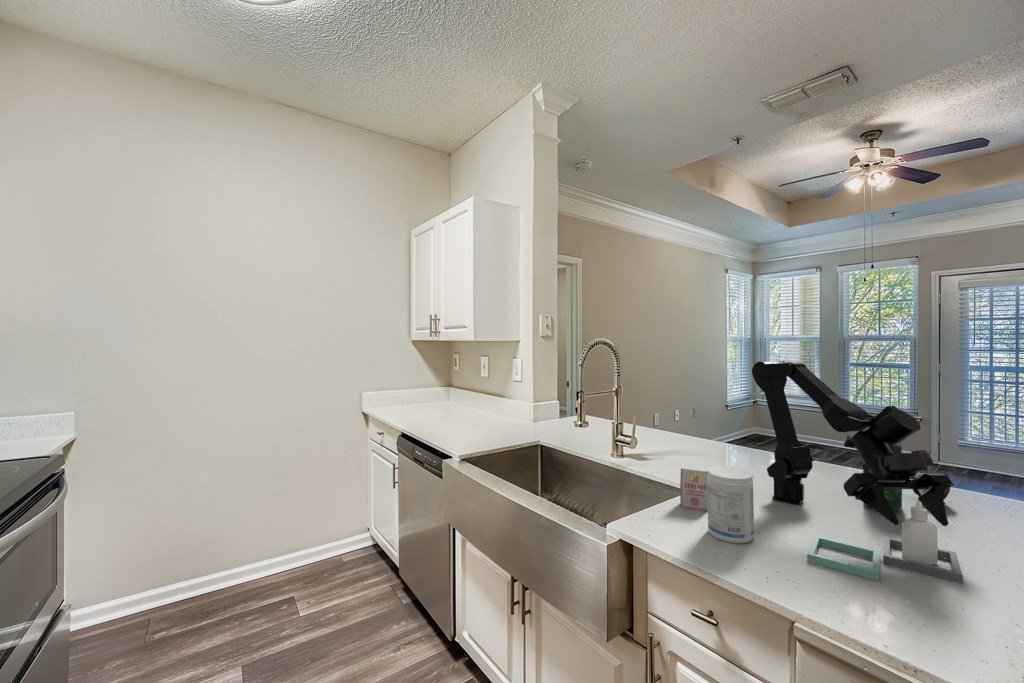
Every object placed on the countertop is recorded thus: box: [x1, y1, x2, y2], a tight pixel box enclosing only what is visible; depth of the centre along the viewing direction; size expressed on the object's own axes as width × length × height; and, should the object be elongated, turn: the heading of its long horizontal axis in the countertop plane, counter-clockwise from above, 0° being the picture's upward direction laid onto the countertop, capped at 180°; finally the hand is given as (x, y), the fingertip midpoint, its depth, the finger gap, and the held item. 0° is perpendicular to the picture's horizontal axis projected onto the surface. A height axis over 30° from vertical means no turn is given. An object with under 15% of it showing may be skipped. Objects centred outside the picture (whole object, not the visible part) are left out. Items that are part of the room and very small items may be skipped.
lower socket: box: [806, 534, 881, 582], centre depth 87 cm, size 11×11×2 cm
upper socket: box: [882, 535, 964, 584], centre depth 86 cm, size 11×11×2 cm
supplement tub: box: [707, 465, 755, 544], centre depth 98 cm, size 10×10×15 cm
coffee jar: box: [862, 442, 903, 513], centre depth 114 cm, size 10×8×19 cm
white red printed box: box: [679, 468, 708, 512], centre depth 115 cm, size 4×7×10 cm, turn 63°
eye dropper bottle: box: [901, 500, 939, 566], centre depth 86 cm, size 4×6×12 cm
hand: (921, 524), depth 85 cm, fingers open, 9 cm apart
